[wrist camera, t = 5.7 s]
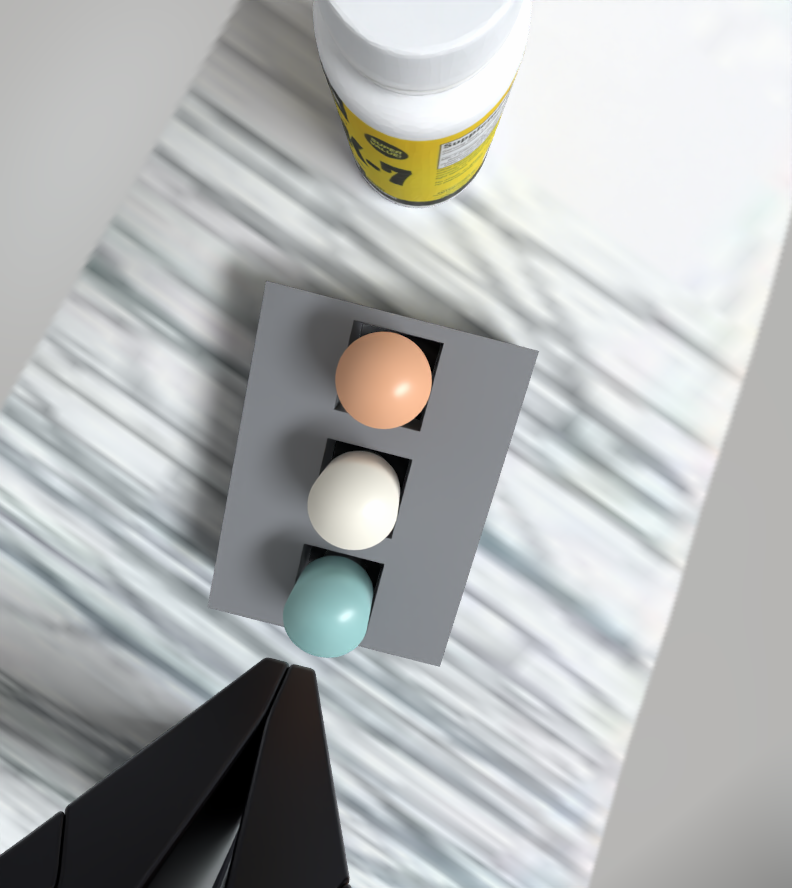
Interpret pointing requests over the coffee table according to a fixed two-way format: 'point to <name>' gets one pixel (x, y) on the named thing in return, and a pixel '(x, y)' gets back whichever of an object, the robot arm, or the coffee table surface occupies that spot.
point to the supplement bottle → (420, 87)
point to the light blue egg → (329, 605)
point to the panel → (325, 420)
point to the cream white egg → (355, 500)
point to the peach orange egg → (383, 380)
